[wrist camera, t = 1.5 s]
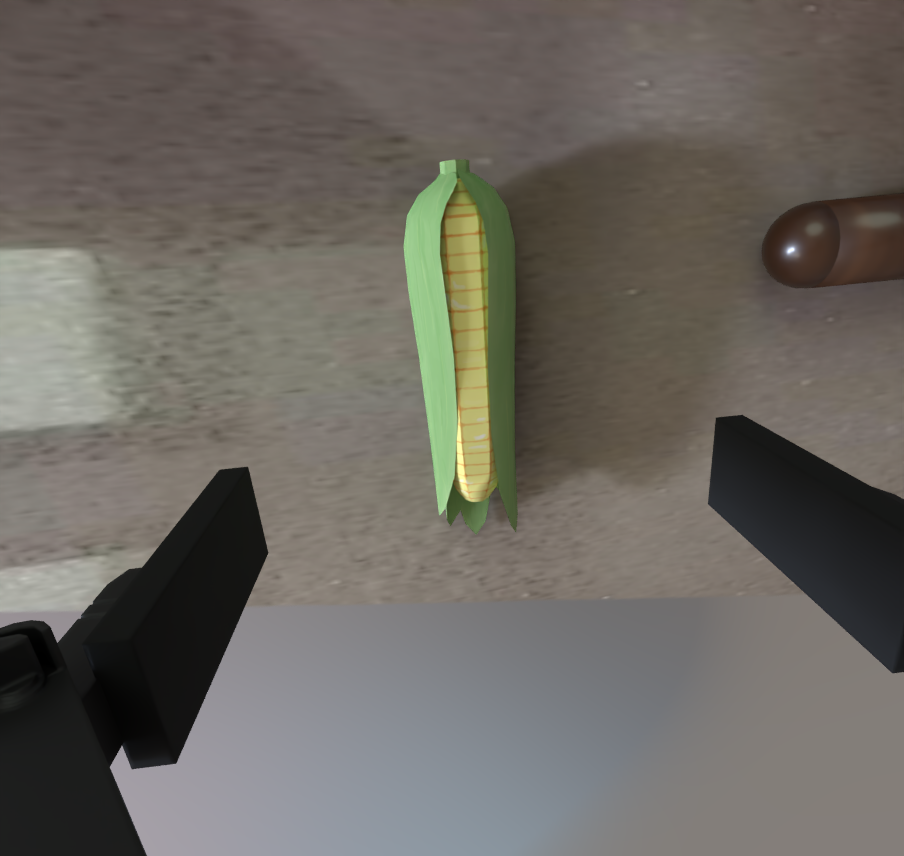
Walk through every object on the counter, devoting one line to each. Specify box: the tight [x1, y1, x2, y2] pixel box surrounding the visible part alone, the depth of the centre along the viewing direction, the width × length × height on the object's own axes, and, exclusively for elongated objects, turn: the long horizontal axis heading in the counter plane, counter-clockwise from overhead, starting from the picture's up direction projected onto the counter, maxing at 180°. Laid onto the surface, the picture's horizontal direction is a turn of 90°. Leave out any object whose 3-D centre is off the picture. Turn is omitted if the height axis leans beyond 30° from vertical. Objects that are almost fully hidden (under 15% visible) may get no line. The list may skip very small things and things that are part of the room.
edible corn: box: [404, 159, 518, 535], centre depth 27 cm, size 5×20×4 cm, turn 4°
